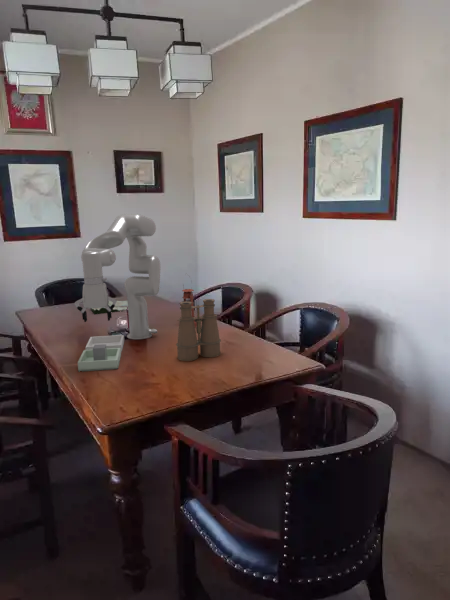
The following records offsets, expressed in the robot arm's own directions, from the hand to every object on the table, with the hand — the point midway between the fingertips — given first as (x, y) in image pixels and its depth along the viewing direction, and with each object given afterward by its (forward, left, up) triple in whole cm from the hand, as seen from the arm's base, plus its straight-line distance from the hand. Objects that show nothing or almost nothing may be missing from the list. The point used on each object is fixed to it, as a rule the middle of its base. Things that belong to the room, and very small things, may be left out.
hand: (97, 320), depth 187 cm
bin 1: (0, -20, -19) cm, 28 cm away
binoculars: (-43, -2, -20) cm, 47 cm away
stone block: (0, 0, -18) cm, 18 cm away
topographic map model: (+2, -109, -20) cm, 111 cm away
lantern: (-42, -52, -20) cm, 69 cm away
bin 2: (0, 0, -19) cm, 19 cm away
